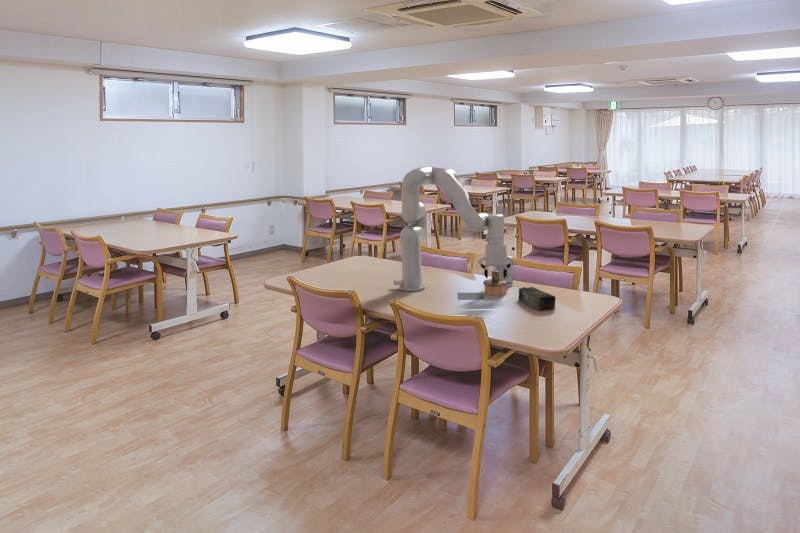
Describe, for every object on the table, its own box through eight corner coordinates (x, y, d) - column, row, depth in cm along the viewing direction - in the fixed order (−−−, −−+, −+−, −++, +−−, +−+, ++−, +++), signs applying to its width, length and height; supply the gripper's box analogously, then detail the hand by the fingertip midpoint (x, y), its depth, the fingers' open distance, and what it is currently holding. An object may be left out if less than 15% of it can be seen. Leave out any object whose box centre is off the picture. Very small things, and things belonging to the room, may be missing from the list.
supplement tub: (516, 286, 300) (516, 256, 296) (502, 289, 295) (502, 259, 291) (503, 282, 308) (503, 254, 304) (488, 285, 303) (489, 256, 299)
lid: (484, 286, 280) (484, 274, 278) (482, 281, 290) (482, 269, 289) (508, 286, 279) (508, 274, 278) (505, 280, 290) (506, 268, 288)
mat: (457, 300, 276) (457, 299, 276) (457, 293, 288) (457, 292, 288) (484, 300, 276) (484, 299, 275) (482, 293, 287) (482, 292, 287)
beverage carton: (533, 299, 277) (533, 285, 275) (556, 310, 259) (556, 295, 258) (517, 300, 275) (518, 286, 273) (539, 312, 257) (539, 297, 255)
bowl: (485, 297, 281) (485, 286, 280) (484, 291, 291) (484, 281, 290) (507, 296, 281) (507, 286, 280) (505, 291, 290) (505, 281, 289)
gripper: (477, 242, 277) (477, 279, 281) (515, 242, 276) (515, 279, 280) (476, 239, 285) (476, 276, 288) (513, 239, 283) (513, 275, 287)
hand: (495, 277), depth 284 cm, fingers open, 7 cm apart
